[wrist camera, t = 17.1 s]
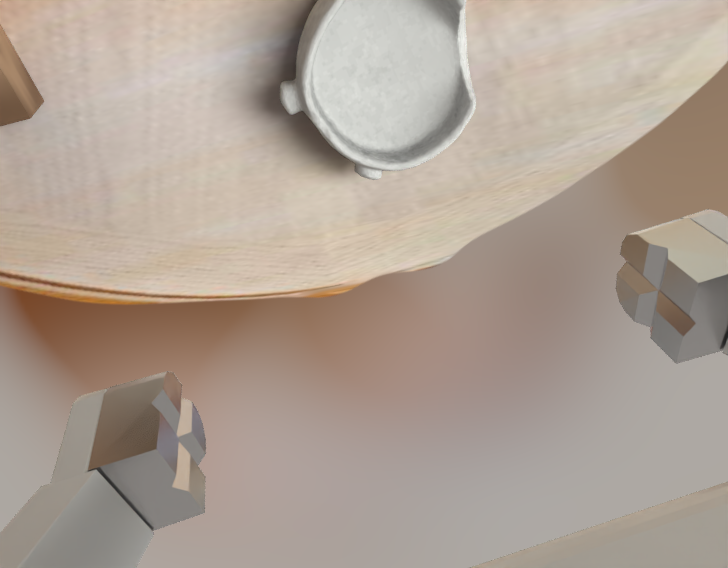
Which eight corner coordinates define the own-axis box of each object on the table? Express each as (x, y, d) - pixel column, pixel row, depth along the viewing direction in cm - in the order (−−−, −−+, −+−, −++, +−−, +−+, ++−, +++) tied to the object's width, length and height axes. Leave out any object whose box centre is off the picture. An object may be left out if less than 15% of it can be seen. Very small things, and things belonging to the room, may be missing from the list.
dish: (415, -90, 35) (440, -88, 31) (491, 85, 43) (519, 105, 39) (242, 42, 37) (246, 60, 33) (346, 185, 46) (358, 212, 42)
